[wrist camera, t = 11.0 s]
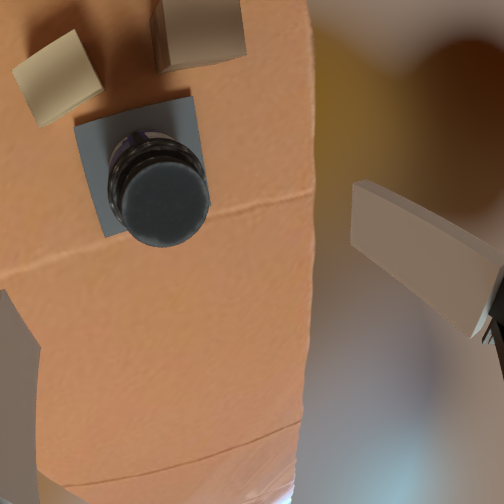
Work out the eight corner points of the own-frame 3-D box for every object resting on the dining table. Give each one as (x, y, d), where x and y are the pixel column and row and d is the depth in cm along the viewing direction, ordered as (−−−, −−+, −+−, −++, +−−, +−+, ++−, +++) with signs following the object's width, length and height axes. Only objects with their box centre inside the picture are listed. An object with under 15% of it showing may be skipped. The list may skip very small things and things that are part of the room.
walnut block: (149, 20, 19) (161, -5, 14) (208, 13, 21) (238, -11, 15) (157, 74, 22) (171, 65, 16) (215, 64, 23) (246, 55, 18)
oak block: (29, 75, 17) (11, 70, 13) (82, 41, 18) (74, 28, 14) (53, 122, 20) (39, 128, 16) (105, 90, 21) (102, 87, 17)
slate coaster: (74, 126, 21) (73, 127, 20) (190, 96, 24) (193, 96, 23) (105, 234, 26) (104, 237, 26) (208, 202, 29) (211, 205, 28)
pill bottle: (127, 211, 25) (139, 279, 17) (96, 149, 22) (83, 183, 13) (191, 179, 27) (237, 228, 18) (165, 115, 23) (199, 126, 14)
